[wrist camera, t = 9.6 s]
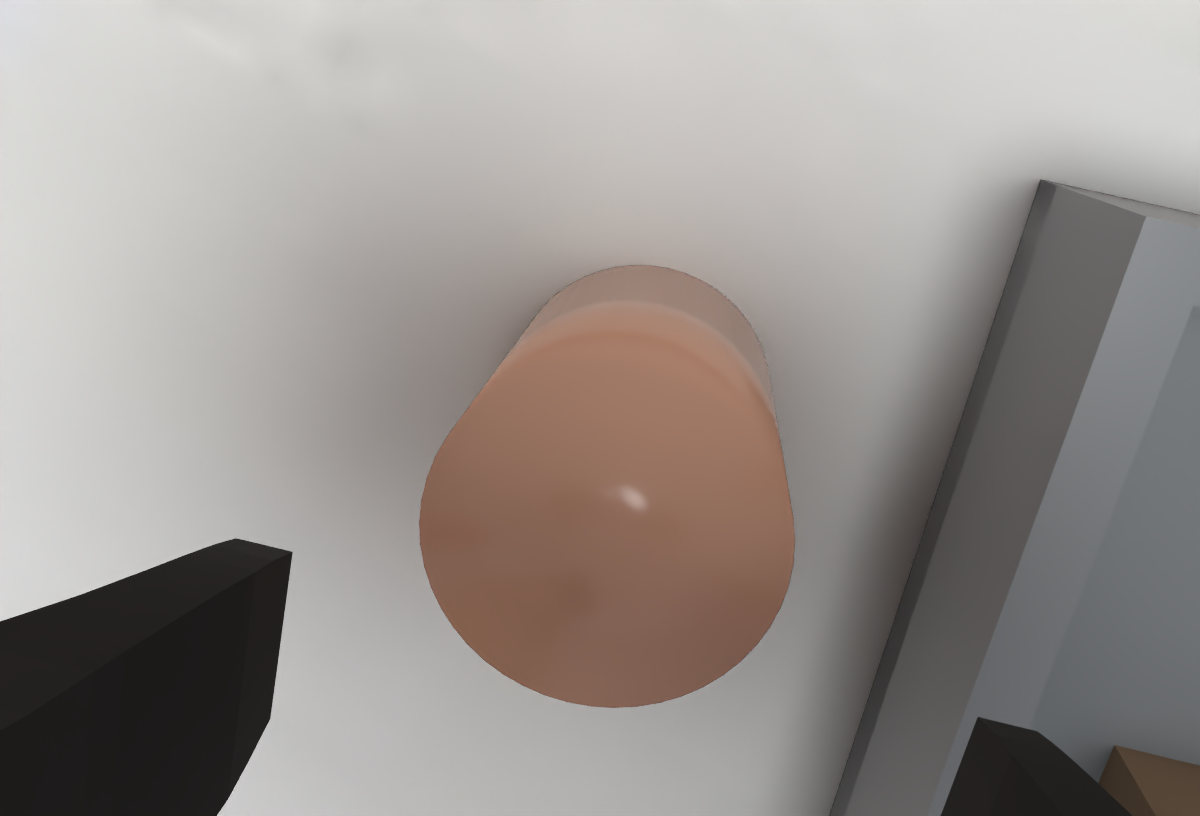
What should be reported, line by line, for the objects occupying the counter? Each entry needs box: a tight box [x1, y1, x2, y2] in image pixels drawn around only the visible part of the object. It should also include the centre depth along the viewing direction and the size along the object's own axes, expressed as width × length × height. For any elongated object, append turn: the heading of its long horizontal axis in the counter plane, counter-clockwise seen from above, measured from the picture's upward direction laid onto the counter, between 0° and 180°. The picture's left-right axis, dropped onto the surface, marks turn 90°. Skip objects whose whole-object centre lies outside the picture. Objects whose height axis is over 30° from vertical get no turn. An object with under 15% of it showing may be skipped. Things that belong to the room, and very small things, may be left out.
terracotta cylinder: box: [419, 265, 795, 708], centre depth 18 cm, size 5×5×7 cm
